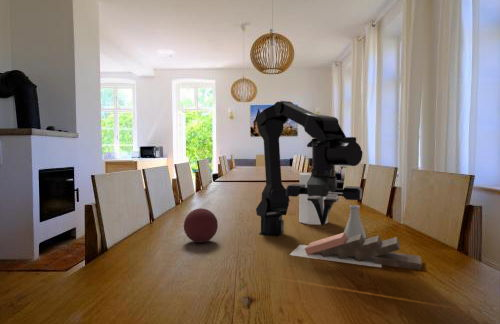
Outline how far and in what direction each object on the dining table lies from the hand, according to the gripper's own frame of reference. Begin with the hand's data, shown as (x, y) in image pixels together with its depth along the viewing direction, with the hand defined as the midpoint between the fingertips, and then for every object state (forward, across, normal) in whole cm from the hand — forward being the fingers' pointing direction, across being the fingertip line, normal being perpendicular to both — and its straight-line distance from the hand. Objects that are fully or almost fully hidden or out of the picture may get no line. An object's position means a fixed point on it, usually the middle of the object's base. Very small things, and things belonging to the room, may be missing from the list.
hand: (323, 224), depth 86 cm
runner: (+8, +3, 0) cm, 9 cm away
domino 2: (+7, 0, 0) cm, 7 cm away
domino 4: (+7, +9, 0) cm, 11 cm away
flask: (+8, +5, +21) cm, 23 cm away
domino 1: (+7, -4, 0) cm, 8 cm away
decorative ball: (+8, -36, -3) cm, 37 cm away
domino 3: (+7, +4, 0) cm, 8 cm away
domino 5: (+7, +13, 0) cm, 14 cm away
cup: (+8, -12, +38) cm, 41 cm away
